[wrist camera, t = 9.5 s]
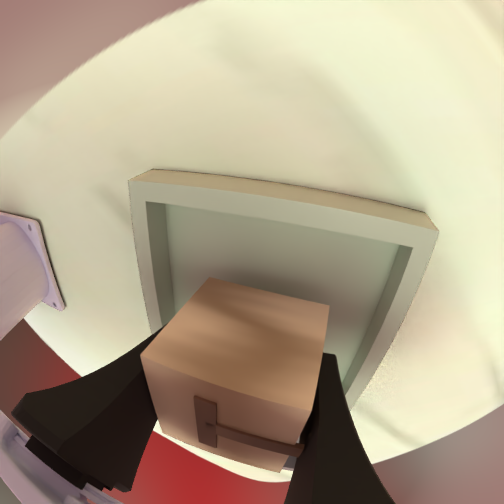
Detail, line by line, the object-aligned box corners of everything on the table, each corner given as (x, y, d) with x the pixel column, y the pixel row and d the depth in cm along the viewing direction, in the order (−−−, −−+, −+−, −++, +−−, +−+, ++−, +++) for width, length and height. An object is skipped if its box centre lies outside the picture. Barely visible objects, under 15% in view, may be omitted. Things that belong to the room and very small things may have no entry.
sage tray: (172, 349, 18) (160, 368, 16) (152, 169, 12) (127, 180, 10) (349, 389, 15) (348, 413, 14) (425, 212, 10) (439, 231, 8)
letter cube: (209, 358, 14) (161, 434, 10) (209, 276, 12) (138, 357, 7) (309, 386, 13) (286, 476, 8) (336, 307, 11) (322, 415, 6)
